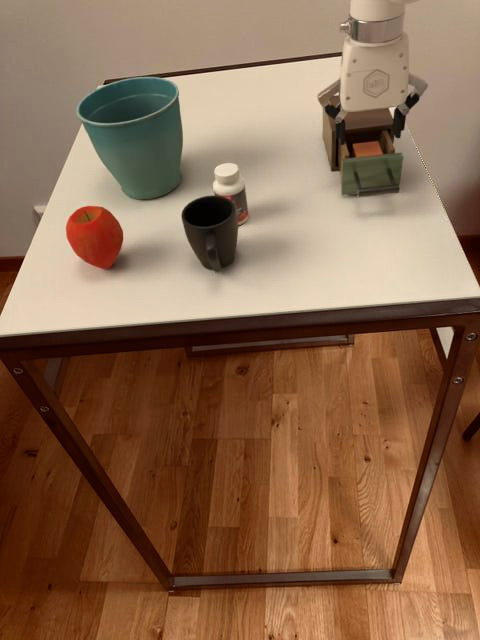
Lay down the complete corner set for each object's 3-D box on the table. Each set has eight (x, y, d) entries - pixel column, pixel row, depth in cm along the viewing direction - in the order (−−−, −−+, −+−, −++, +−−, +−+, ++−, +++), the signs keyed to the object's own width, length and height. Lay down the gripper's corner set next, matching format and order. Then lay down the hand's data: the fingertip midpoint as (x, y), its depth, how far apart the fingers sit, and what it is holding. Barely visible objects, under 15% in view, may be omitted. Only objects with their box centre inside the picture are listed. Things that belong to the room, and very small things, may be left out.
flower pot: (104, 170, 106) (74, 89, 93) (187, 150, 107) (169, 67, 95) (110, 219, 94) (77, 133, 81) (204, 196, 95) (186, 108, 83)
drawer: (407, 210, 84) (412, 176, 79) (346, 216, 85) (348, 183, 80) (384, 151, 96) (387, 119, 92) (332, 157, 97) (332, 126, 93)
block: (376, 163, 92) (378, 140, 89) (380, 176, 89) (383, 154, 86) (351, 166, 93) (352, 143, 89) (355, 179, 90) (356, 156, 86)
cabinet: (391, 164, 95) (395, 123, 89) (331, 171, 96) (331, 131, 90) (377, 129, 104) (380, 89, 98) (322, 135, 105) (322, 96, 99)
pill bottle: (223, 230, 88) (214, 181, 80) (215, 213, 91) (206, 165, 84) (253, 222, 88) (246, 172, 81) (243, 205, 92) (237, 156, 85)
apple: (141, 252, 86) (123, 199, 78) (115, 286, 81) (93, 233, 73) (100, 244, 89) (78, 192, 81) (72, 276, 84) (46, 224, 76)
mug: (191, 296, 78) (178, 248, 71) (193, 245, 86) (182, 198, 79) (245, 289, 77) (237, 241, 70) (241, 240, 85) (234, 191, 78)
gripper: (318, 44, 72) (319, 155, 84) (445, 27, 70) (426, 143, 83) (313, 25, 77) (314, 133, 89) (430, 9, 75) (415, 121, 88)
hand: (368, 137), depth 86 cm, fingers open, 8 cm apart
